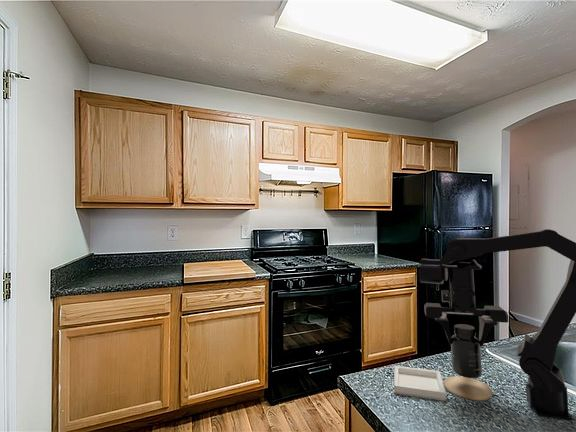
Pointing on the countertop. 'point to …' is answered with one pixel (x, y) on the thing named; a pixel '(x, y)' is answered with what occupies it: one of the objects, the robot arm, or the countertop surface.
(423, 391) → the white tray
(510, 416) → the countertop surface
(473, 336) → the supplement bottle
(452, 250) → the robot arm
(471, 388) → the cork coaster
